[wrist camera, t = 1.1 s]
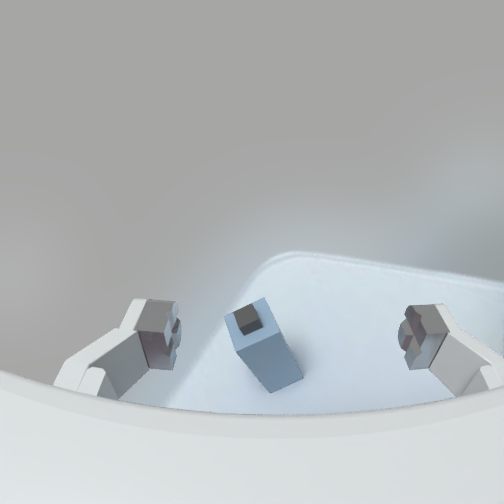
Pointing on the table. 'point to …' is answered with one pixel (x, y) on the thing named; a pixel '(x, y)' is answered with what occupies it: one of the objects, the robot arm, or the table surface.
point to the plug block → (262, 345)
